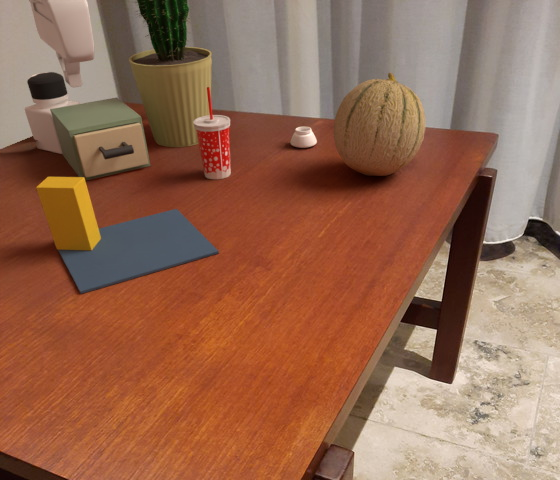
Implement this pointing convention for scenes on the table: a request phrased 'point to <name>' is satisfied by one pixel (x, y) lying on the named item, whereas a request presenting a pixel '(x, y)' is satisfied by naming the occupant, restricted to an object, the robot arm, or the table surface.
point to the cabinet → (91, 127)
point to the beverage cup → (214, 143)
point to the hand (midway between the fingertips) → (74, 85)
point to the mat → (137, 250)
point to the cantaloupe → (379, 127)
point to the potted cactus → (171, 74)
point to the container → (46, 108)
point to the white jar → (303, 137)
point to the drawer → (111, 149)
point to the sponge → (69, 212)
